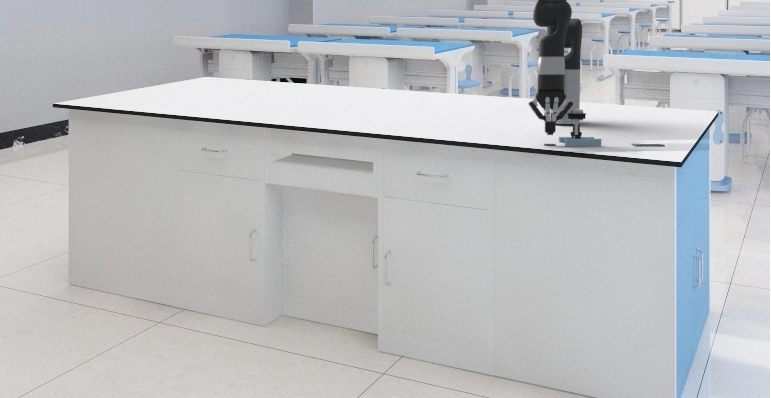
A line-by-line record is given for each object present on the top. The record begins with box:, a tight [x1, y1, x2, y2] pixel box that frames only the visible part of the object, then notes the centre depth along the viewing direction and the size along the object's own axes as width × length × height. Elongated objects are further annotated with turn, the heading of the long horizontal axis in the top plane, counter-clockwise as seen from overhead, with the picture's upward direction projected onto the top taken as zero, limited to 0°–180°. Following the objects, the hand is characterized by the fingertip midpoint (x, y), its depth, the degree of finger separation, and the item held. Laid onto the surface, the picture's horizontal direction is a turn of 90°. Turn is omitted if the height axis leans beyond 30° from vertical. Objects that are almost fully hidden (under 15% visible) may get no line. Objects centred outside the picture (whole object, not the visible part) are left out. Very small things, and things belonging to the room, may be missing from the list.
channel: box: [557, 136, 602, 147], centre depth 265 cm, size 10×10×2 cm
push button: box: [567, 109, 587, 139], centre depth 264 cm, size 7×5×10 cm
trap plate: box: [543, 143, 557, 146], centre depth 266 cm, size 5×3×1 cm, turn 1°
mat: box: [631, 143, 665, 147], centre depth 263 cm, size 8×8×1 cm
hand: (549, 134), depth 264 cm, fingers closed
